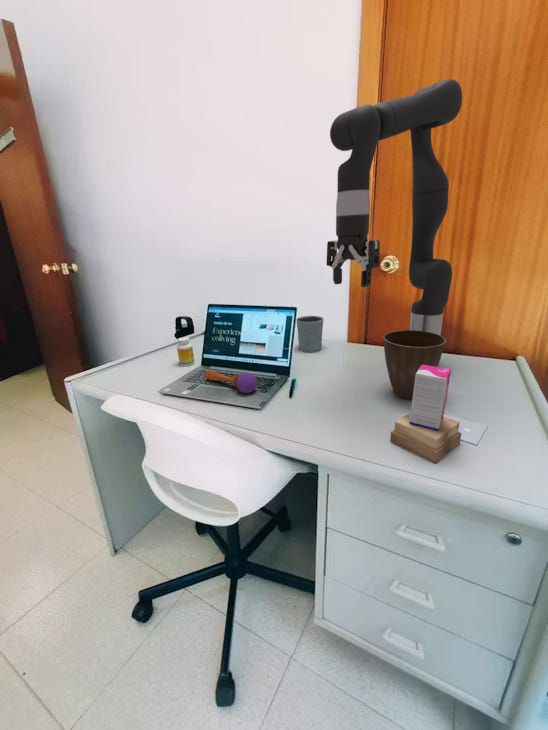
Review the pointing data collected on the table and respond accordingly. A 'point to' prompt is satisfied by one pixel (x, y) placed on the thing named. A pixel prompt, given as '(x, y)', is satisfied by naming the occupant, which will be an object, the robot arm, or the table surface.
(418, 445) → the base block
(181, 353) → the supplement bottle
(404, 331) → the plant pot
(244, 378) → the kendama
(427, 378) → the supplement box
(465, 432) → the page
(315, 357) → the table surface
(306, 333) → the gray cup
